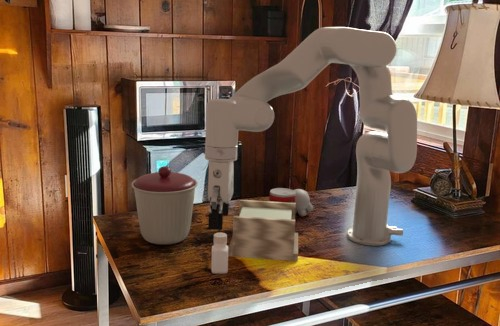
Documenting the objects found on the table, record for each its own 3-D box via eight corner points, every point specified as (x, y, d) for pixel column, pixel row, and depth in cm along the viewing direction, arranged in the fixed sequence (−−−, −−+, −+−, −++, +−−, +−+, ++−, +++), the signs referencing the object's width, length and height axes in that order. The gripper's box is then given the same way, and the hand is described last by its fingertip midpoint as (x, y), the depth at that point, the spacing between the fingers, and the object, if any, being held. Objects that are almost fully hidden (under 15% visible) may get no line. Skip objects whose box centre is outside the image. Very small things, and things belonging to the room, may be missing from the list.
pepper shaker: (227, 267, 124) (228, 231, 122) (227, 274, 120) (228, 238, 118) (211, 267, 124) (212, 231, 122) (211, 274, 120) (211, 237, 118)
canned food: (292, 230, 149) (294, 196, 147) (266, 228, 151) (267, 193, 148) (295, 222, 157) (297, 189, 154) (270, 219, 158) (271, 186, 155)
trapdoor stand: (297, 239, 143) (299, 203, 140) (297, 261, 129) (299, 221, 126) (234, 235, 145) (235, 199, 142) (227, 256, 130) (228, 217, 128)
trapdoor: (291, 216, 140) (291, 209, 140) (290, 231, 128) (291, 224, 128) (242, 213, 141) (242, 206, 141) (237, 228, 130) (237, 221, 129)
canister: (129, 229, 146) (127, 160, 141) (189, 224, 152) (189, 157, 147) (137, 254, 130) (135, 177, 125) (204, 246, 136) (205, 173, 131)
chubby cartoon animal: (276, 221, 165) (269, 199, 161) (305, 204, 169) (298, 182, 165) (288, 228, 158) (280, 206, 155) (317, 210, 163) (310, 188, 159)
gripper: (232, 161, 106) (229, 236, 110) (241, 146, 123) (238, 211, 127) (198, 159, 107) (196, 233, 111) (211, 144, 123) (209, 209, 127)
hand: (218, 221), depth 119 cm, fingers open, 9 cm apart
